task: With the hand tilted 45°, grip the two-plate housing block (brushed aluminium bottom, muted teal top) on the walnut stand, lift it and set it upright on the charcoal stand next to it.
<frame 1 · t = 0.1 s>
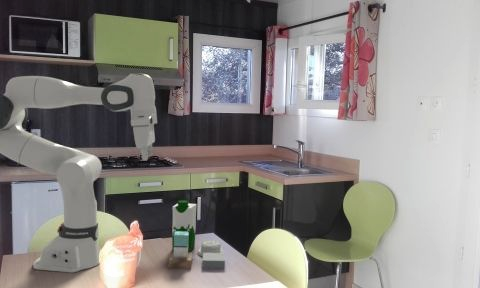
hand: (147, 158, 154), 39 cm above the table, tool pointing down, fingers open, 8 cm apart
mechanical component: (210, 254, 171), on the table
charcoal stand: (213, 264, 159), on the table
walnut stand: (180, 264, 159), on the table
housing: (180, 256, 158), point 3 cm above the table, touching walnut stand
milk carton: (183, 249, 176), on the table
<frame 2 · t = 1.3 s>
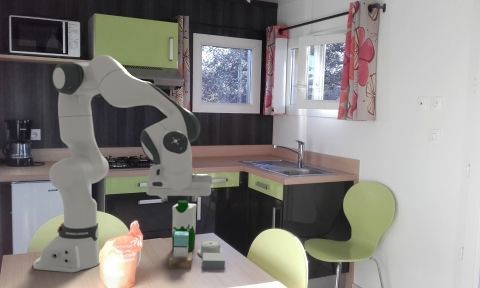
hand: (179, 199, 141), 28 cm above the table, tool tilted 45°, fingers open, 8 cm apart
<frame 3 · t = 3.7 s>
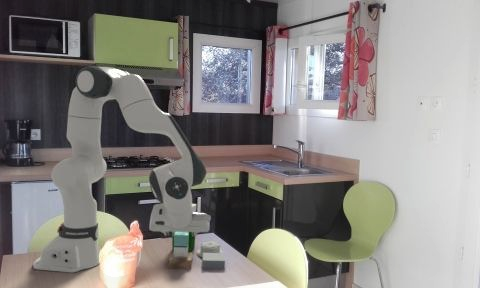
hand: (180, 233, 152), 13 cm above the table, tool tilted 45°, fingers open, 8 cm apart
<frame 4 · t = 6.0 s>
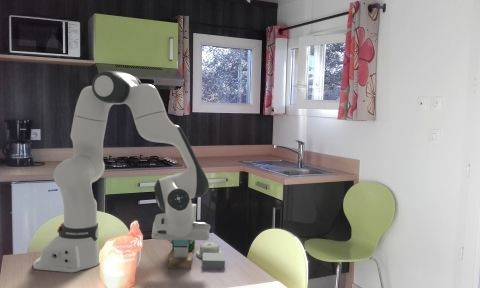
hand: (181, 241, 158), 8 cm above the table, tool tilted 45°, fingers closed on housing, 5 cm apart
housing: (180, 256, 158), point 3 cm above the table, touching gripper, walnut stand
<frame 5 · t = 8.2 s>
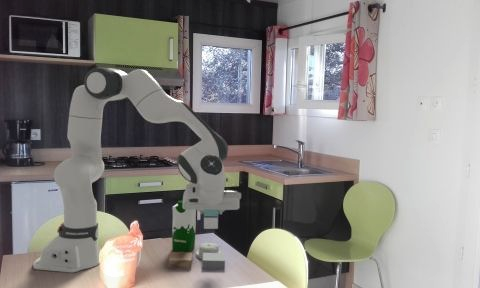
hand: (211, 212, 158), 19 cm above the table, tool tilted 45°, fingers closed on housing, 5 cm apart
housing: (210, 227, 158), point 14 cm above the table, touching gripper
when the fingers open (10 cm above the table, at t = 10.9 s): housing drops 1 cm, resting on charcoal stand.
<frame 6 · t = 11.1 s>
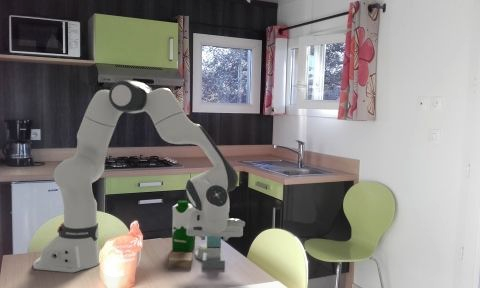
hand: (214, 238, 159), 10 cm above the table, tool tilted 45°, fingers open, 7 cm apart
housing: (213, 256, 159), point 3 cm above the table, touching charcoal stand
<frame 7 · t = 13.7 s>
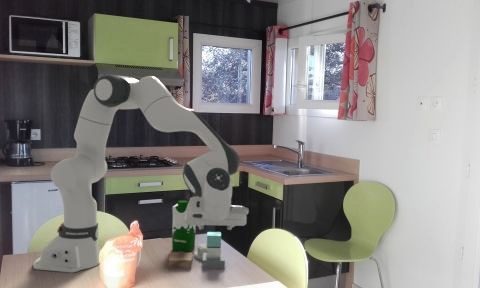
hand: (215, 227, 147), 17 cm above the table, tool tilted 45°, fingers open, 8 cm apart
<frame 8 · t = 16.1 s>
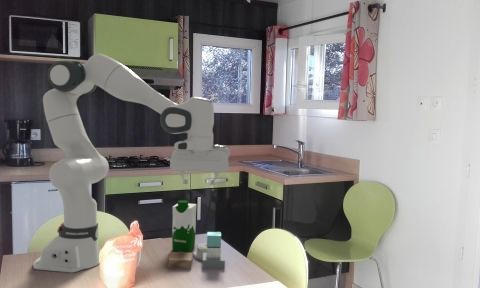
hand: (199, 184, 150), 31 cm above the table, tool pointing down, fingers open, 8 cm apart
at the end: housing 0.1 cm off-centre on the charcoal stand, point 3.0 cm above the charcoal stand's base; housing tilted 0°; the gripper is holding nothing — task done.
